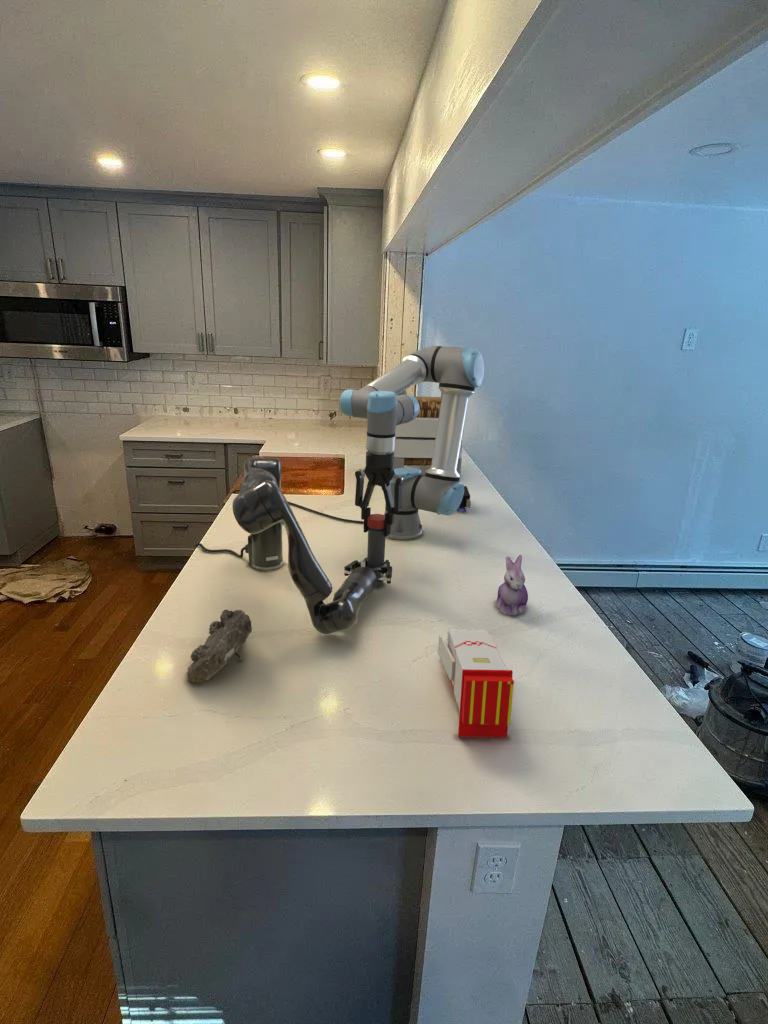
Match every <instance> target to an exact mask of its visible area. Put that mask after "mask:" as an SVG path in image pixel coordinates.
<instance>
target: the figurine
mask: <svg viewBox="0 0 768 1024" xmlns="http://www.w3.org/2000/svg"><path fill="white" fill-rule="evenodd" d="M522 562H523V555H522V554H519V555H518V556H517V557H516V559H515V561H513V560H512V558H511V556H509V555H506V556H505V566H506V567H505V569H506V571H505V573H504V576H503V581H504V582H502V584H500V585H499V586H498V589H497V598H496V607H497V608H498V610H500V612H501V614H503V615H508V616H516V615H518V614H523V612H524V611H525V610H526V607H527V603H528V601H529V594H528V590H527V587H526V585H525V583H526V576H525V574H524V571H523V569H522V564H523V563H522Z"/></svg>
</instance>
